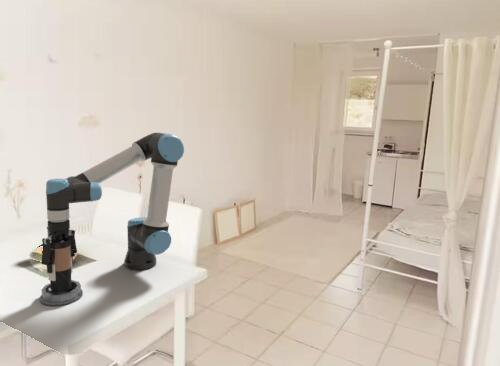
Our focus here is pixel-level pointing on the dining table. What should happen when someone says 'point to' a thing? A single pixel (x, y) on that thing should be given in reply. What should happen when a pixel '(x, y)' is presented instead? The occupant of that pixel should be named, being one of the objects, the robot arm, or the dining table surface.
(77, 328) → the dining table surface
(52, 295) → the collar
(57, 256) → the travel mug
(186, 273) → the dining table surface
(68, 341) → the dining table surface
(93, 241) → the dining table surface
